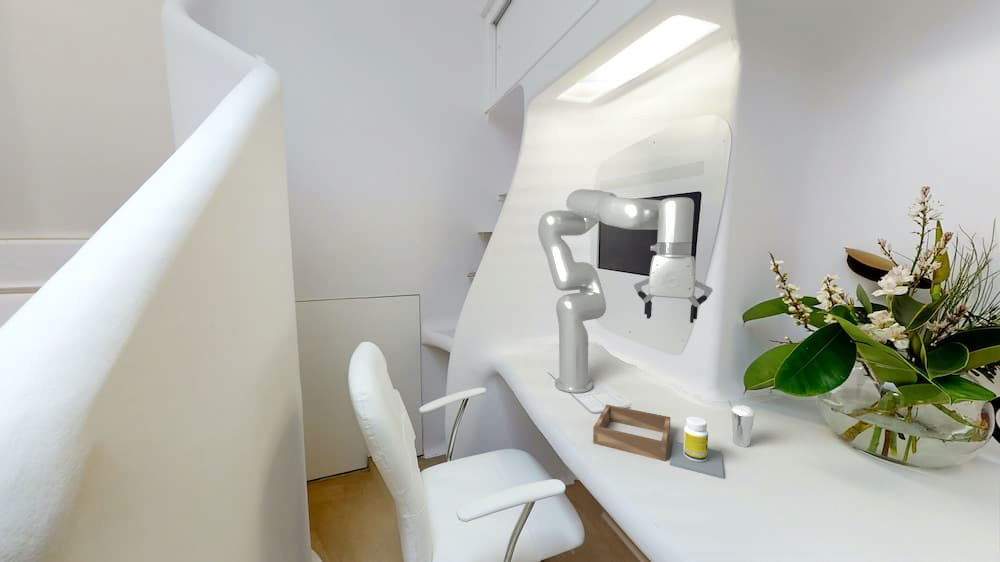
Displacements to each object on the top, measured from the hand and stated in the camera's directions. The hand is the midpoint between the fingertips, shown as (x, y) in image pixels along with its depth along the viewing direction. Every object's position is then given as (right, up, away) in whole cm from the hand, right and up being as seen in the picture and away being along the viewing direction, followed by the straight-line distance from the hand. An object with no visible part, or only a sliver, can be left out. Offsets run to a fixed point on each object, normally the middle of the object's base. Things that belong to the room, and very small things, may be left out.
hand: (669, 319), depth 90 cm
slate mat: (+2, -30, -8) cm, 32 cm away
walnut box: (-9, -30, +1) cm, 31 cm away
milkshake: (+16, -30, -2) cm, 34 cm away
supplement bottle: (+2, -30, -8) cm, 31 cm away
